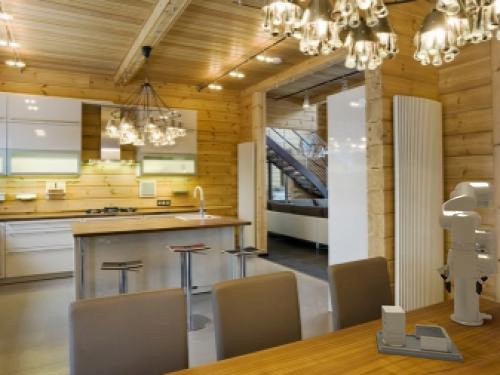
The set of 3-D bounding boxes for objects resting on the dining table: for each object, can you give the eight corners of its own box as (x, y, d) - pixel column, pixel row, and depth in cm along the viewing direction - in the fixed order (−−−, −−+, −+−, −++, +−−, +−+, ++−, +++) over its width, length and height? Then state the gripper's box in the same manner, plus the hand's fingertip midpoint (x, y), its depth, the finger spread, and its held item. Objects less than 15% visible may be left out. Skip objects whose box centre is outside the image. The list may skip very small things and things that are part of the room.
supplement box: (400, 337, 143) (400, 305, 143) (406, 345, 136) (405, 312, 136) (381, 336, 144) (381, 305, 144) (385, 344, 137) (385, 311, 137)
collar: (442, 339, 141) (442, 326, 141) (451, 353, 129) (451, 340, 129) (415, 336, 144) (415, 324, 143) (420, 350, 132) (420, 337, 132)
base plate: (451, 342, 142) (451, 337, 142) (463, 362, 126) (463, 356, 126) (376, 334, 149) (376, 330, 149) (378, 352, 134) (378, 347, 134)
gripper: (486, 245, 134) (486, 291, 134) (435, 244, 139) (435, 288, 139) (493, 249, 126) (494, 297, 127) (439, 247, 131) (439, 294, 132)
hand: (463, 292), depth 133 cm, fingers open, 9 cm apart
